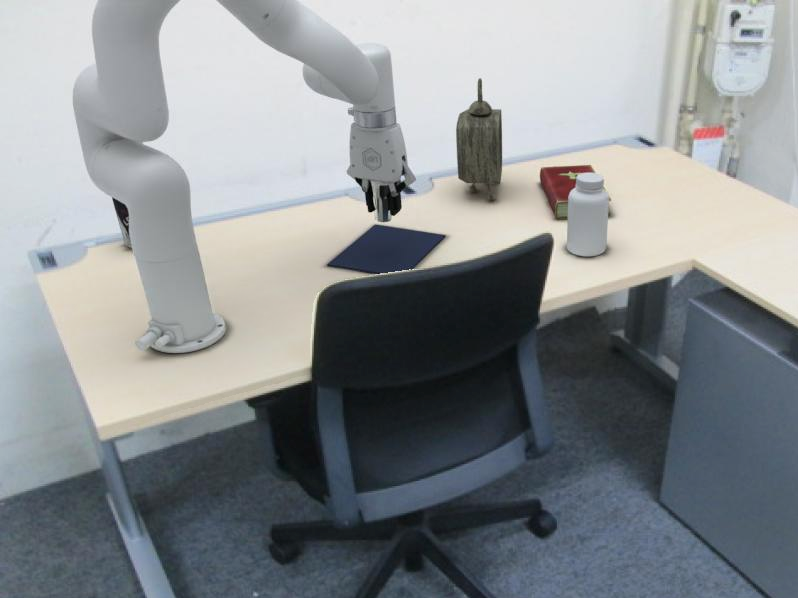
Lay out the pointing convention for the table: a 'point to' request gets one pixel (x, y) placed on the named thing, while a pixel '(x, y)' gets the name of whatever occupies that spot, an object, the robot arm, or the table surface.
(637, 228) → the table surface
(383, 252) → the mouse pad
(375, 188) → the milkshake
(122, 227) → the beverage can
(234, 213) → the table surface
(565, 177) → the hardcover book
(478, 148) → the tabletop clock
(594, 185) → the pill bottle
